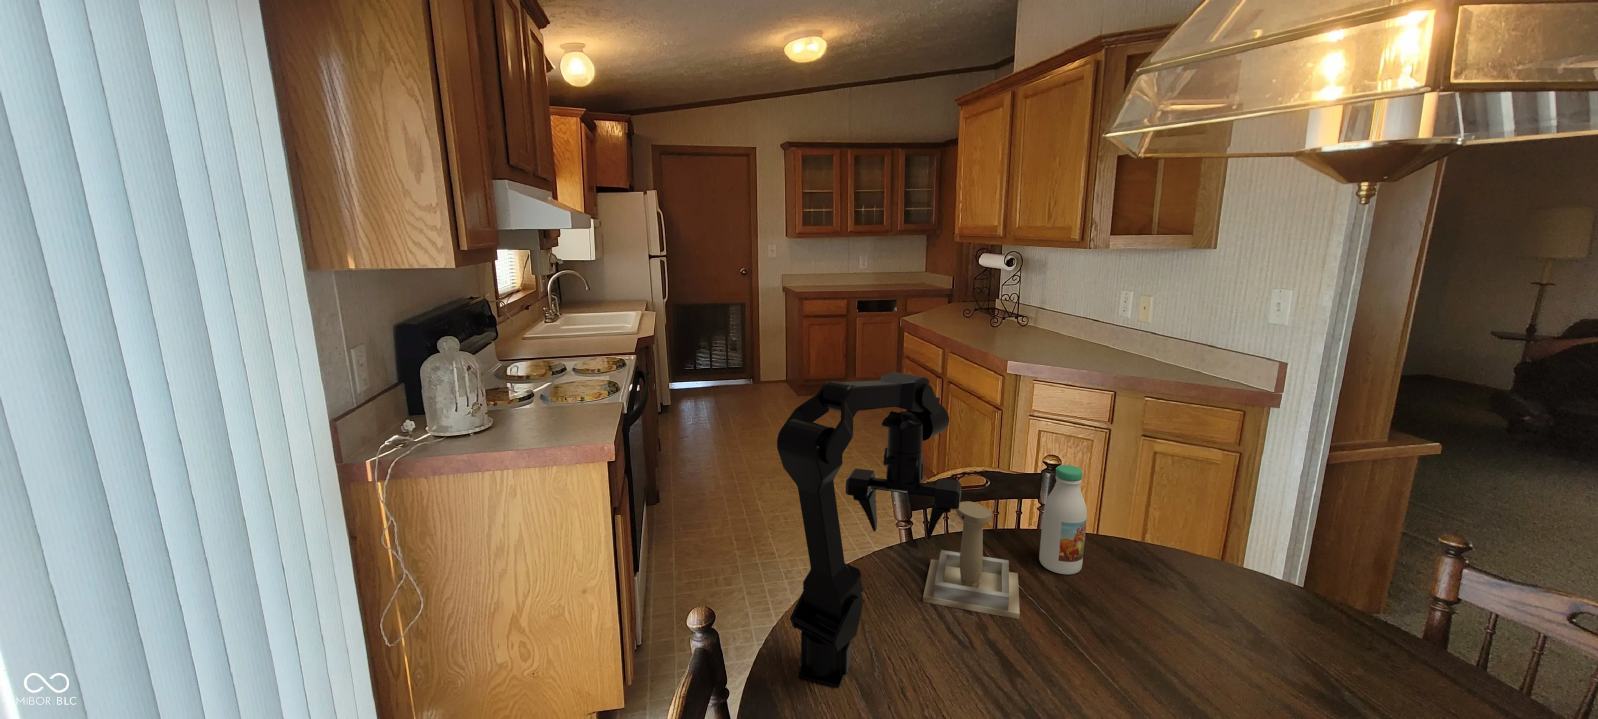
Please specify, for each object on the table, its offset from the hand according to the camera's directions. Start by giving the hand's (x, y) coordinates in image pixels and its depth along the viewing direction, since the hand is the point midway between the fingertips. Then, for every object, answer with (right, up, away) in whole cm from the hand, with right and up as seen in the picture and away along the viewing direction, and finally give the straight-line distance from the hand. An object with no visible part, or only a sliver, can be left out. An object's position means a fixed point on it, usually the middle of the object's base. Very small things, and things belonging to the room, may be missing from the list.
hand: (901, 534), depth 105 cm
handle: (+13, -11, +6) cm, 18 cm away
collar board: (+14, -12, +6) cm, 19 cm away
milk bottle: (+33, -10, +15) cm, 38 cm away
